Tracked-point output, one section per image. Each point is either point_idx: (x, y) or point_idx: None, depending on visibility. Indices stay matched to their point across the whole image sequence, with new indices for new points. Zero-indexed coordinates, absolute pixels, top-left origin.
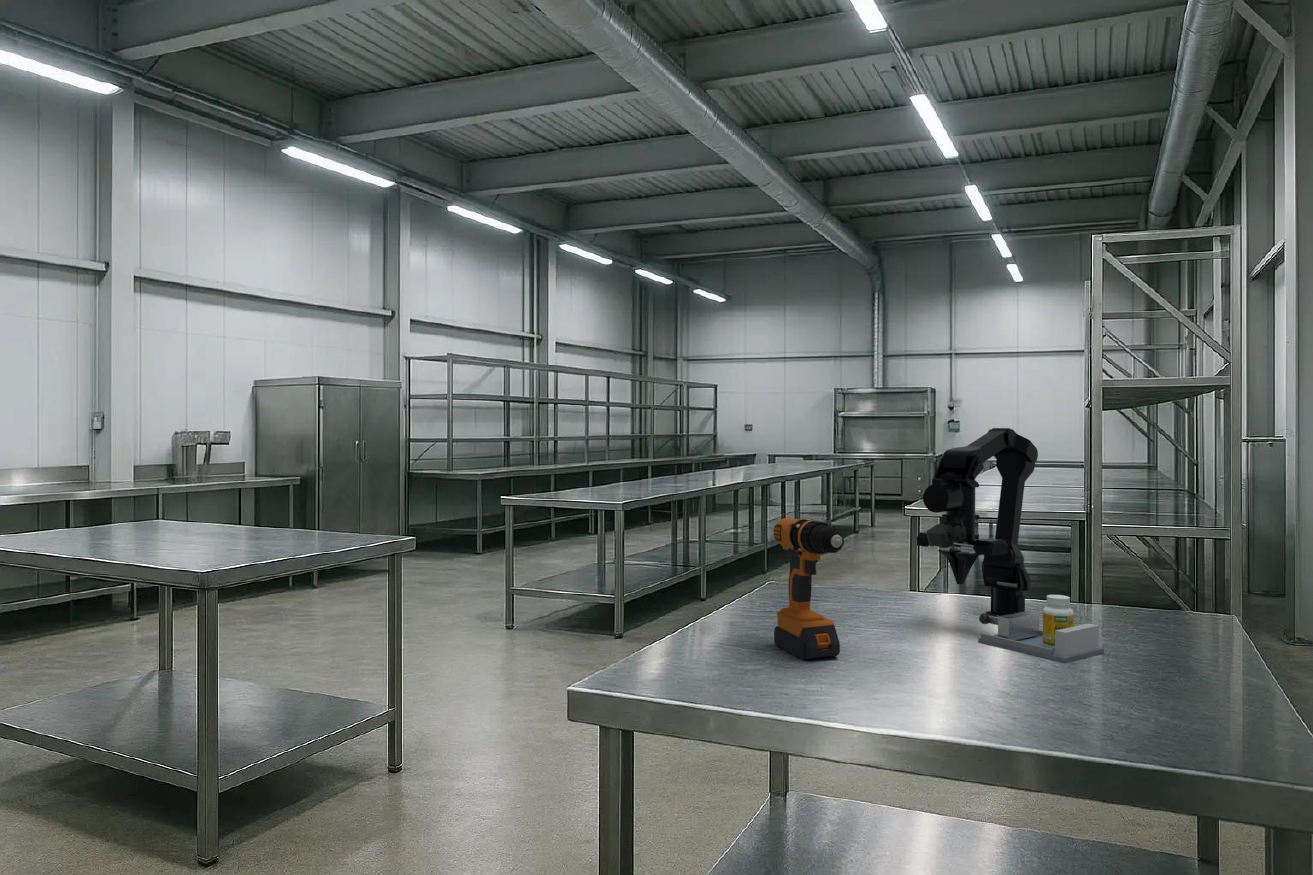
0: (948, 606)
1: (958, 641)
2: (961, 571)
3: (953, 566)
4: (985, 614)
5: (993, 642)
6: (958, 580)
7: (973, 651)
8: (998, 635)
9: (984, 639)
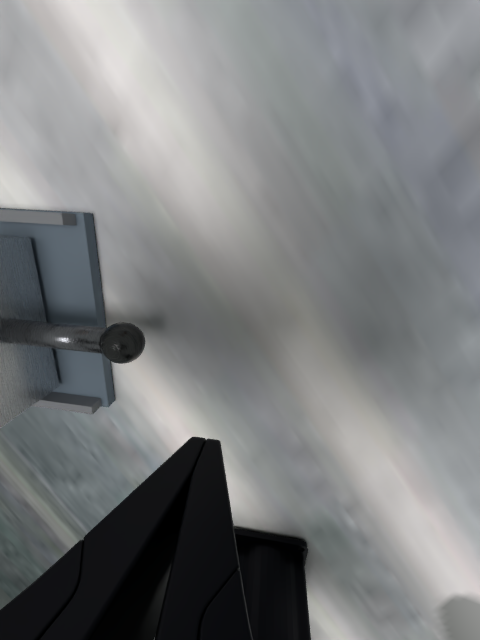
0: (438, 563)
1: (130, 163)
2: (106, 521)
3: (192, 593)
4: (105, 344)
5: (30, 210)
6: (192, 452)
7: (4, 66)
8: (16, 238)
9: (60, 212)
